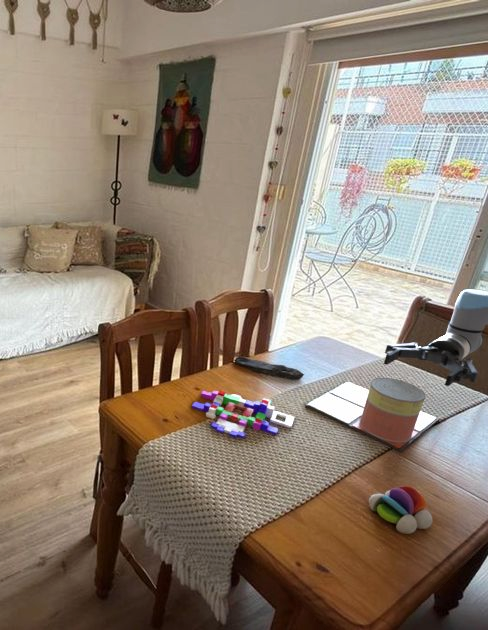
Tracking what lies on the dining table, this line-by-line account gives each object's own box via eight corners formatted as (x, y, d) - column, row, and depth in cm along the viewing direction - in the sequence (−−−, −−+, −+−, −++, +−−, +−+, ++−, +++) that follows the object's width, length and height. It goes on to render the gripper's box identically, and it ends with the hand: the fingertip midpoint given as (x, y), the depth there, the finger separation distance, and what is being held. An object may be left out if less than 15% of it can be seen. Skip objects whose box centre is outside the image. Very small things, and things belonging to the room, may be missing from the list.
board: (438, 421, 120) (439, 418, 119) (399, 453, 107) (401, 449, 107) (346, 384, 138) (347, 380, 138) (304, 407, 126) (305, 404, 125)
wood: (228, 367, 148) (229, 359, 147) (234, 358, 154) (235, 351, 153) (300, 386, 137) (302, 378, 136) (304, 376, 142) (305, 368, 141)
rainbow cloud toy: (436, 529, 86) (447, 500, 83) (398, 541, 84) (409, 512, 81) (395, 498, 94) (404, 470, 91) (359, 508, 91) (368, 480, 88)
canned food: (422, 436, 111) (436, 396, 107) (391, 446, 108) (404, 404, 103) (379, 412, 121) (390, 374, 117) (349, 421, 118) (360, 382, 113)
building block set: (182, 420, 120) (184, 406, 118) (206, 388, 135) (208, 375, 134) (281, 455, 106) (284, 440, 105) (295, 415, 122) (298, 401, 121)
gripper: (500, 380, 116) (472, 404, 105) (394, 346, 136) (360, 364, 125) (510, 354, 113) (482, 376, 102) (400, 324, 133) (367, 340, 122)
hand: (415, 369), depth 113 cm, fingers open, 13 cm apart
